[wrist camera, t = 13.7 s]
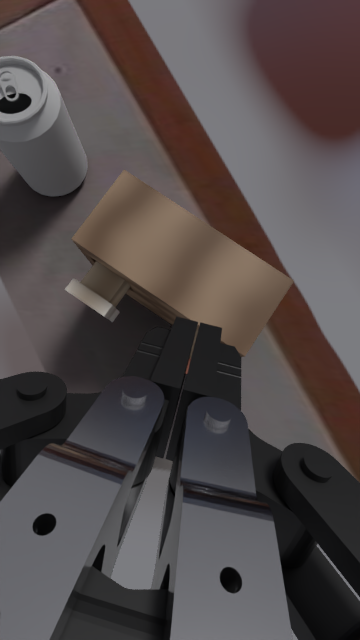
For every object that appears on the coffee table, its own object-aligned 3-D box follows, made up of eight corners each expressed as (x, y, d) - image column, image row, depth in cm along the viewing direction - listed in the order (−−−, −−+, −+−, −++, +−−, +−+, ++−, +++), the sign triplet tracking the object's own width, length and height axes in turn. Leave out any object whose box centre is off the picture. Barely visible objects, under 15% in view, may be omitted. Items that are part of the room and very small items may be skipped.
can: (32, 207, 39) (-29, 137, 27) (19, 149, 40) (-47, 56, 28) (96, 191, 39) (63, 116, 27) (81, 134, 40) (43, 37, 28)
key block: (103, 278, 38) (71, 238, 26) (139, 229, 39) (124, 169, 27) (221, 358, 37) (244, 356, 25) (255, 307, 38) (293, 280, 26)
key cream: (78, 298, 32) (64, 289, 28) (134, 222, 33) (129, 203, 29) (112, 322, 32) (104, 316, 28) (167, 245, 33) (167, 229, 29)
